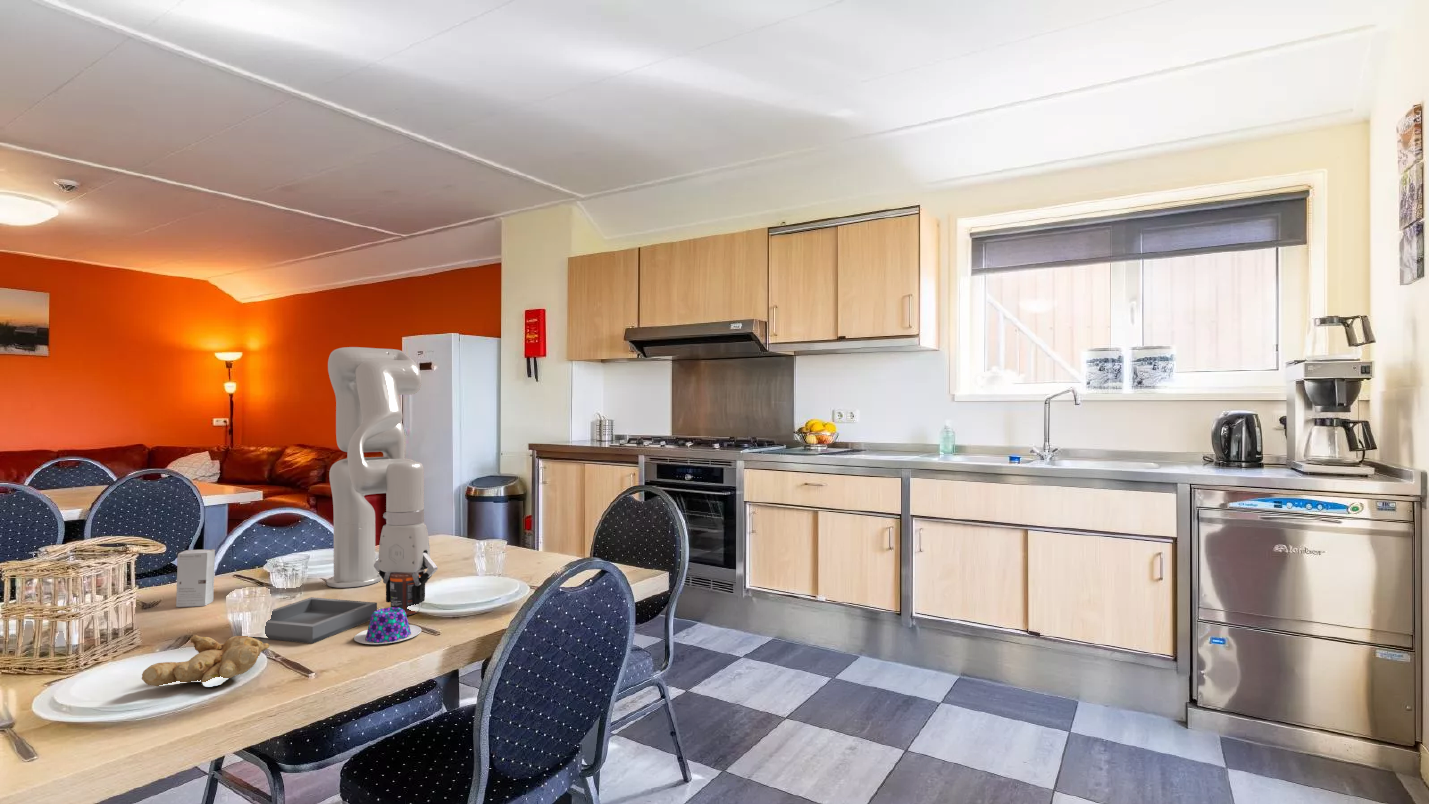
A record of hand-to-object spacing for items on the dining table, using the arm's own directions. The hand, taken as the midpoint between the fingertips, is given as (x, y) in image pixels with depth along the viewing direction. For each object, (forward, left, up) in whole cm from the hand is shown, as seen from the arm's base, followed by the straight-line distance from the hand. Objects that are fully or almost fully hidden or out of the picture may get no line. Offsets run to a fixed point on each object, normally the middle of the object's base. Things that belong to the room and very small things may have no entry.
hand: (405, 601), depth 155 cm
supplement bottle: (0, 0, -3) cm, 3 cm away
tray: (+13, -12, -3) cm, 18 cm away
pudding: (+14, +7, -3) cm, 16 cm away
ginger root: (+39, -5, -3) cm, 40 cm away
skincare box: (+6, -51, -3) cm, 51 cm away
